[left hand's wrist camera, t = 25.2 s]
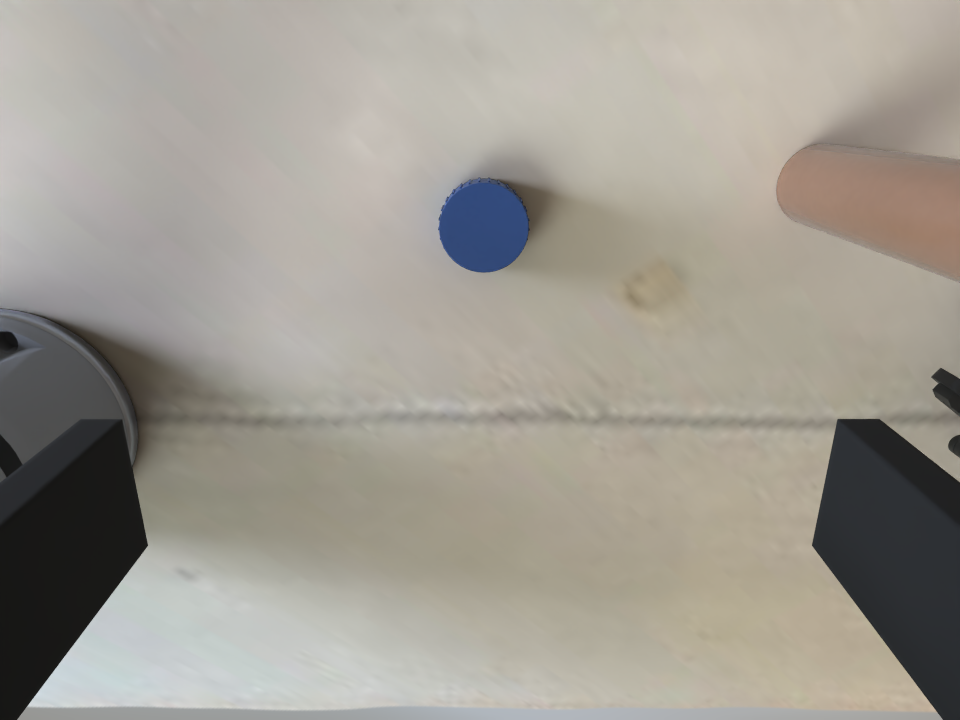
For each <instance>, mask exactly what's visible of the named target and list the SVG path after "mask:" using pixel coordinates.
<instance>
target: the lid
mask: <svg viewBox="0 0 960 720" xmlns="http://www.w3.org/2000/svg"><path fill="white" fill-rule="evenodd" d="M522 203H523V201H522V199H521V197H520V198H519V197H518V195H517V194H516V191H515V190H512V189H511V188H510V187H509V186H508V184H506V185H505V184H503V183H501V182H500V181H499V180H497V181H496V180H492V179H490V178H488V179H480V178H478V179H476V180H472V181H471V179H470V180H469V182H466V183H464V184H462V183H461V184H460V186H459V187H458V188H457V189H456V190H453V191H452V194H451V195H450V196H449V197H447V199H446V203H445V205H443V207H442V209H441V211H442V214H440V217H439V220H440V223H439V228H438V230H439V232H440V240H441V242H442V244H443V247H444V249H445V251H446V252H447V253H448V255H449V256H450V257H451V258H452V260H454V261H455V262H456V263H457V264H459V265H460V266H462V267H464V268H466V269H468V270H471V271H475V272H493V271H497V270H500V269H502V268H504V267H506V266H508V265H509V264H511V263H512V262H513V261H514V260H515V259H516V258H517V257H518V256H519V255H520V253H521V252H522V250H523V249H524V246H525V244H526V241H527V240H528V238H527V237H528V231H529V223H528V221H529V218H528V216H527V214H526V212H527V210H526V207H525V206H523V204H522Z"/></svg>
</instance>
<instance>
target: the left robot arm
mask: <svg viewBox="0 0 960 720" xmlns="http://www.w3.org/2000/svg"><path fill="white" fill-rule="evenodd" d="M137 445H138V428H137V420H136V416H135V411H134V408H133V405H132V402H131V399H130V397H129V395H128V393H127V390H126V389H125V387H124V385H123V383H122V381H121V380H120V378H119V377H118V375H117V374H116V372H115V371H114V370H113V368H112V367H111V366H110V365H109V363H108V362H107V361H106V360H105V359H104V358H103V357H102V356H101V355H100V354H99V353H98V352H97V351H96V350H95V349H94V348H93V347H92V346H90V345H89V344H88V343H87V342H85V341H84V340H83V339H81V338H80V337H79V336H77V335H76V334H74V333H73V332H71V331H69V330H68V329H66V328H64V327H62V326H60V325H58V324H56V323H54V322H52V321H50V320H47V319H45V318H42V317H39V316H36V315H33V314H29V313H25V312H22V311H16V310H10V309H0V720H17V719H18V718H19V716H20V715H21V714H22V712H23V711H24V710H25V708H26V707H27V706H28V704H29V703H30V702H31V700H32V699H33V698H34V696H35V695H36V694H37V692H38V691H39V690H40V688H41V687H42V686H43V684H44V683H45V682H46V680H47V679H48V678H49V676H50V675H51V674H52V672H53V671H54V670H55V668H56V667H57V666H58V664H59V663H60V662H61V660H62V659H63V658H64V656H65V655H66V654H67V653H68V651H69V650H70V649H71V647H72V646H73V645H74V643H75V642H76V641H77V639H78V638H79V637H80V635H81V634H82V633H83V631H84V630H85V629H86V627H87V626H88V625H89V623H90V622H91V621H92V619H93V618H94V617H95V615H96V614H97V613H98V611H99V610H100V609H101V607H102V606H103V605H104V603H105V602H106V601H107V599H108V598H109V597H110V595H111V594H112V593H113V591H114V590H115V589H116V587H117V586H118V585H119V583H120V582H121V581H122V579H123V578H124V577H125V575H126V574H127V573H128V571H129V570H130V569H131V567H132V566H133V565H134V563H135V562H136V561H137V559H138V558H139V557H140V555H141V554H142V553H143V551H144V550H145V549H146V547H147V546H148V543H147V538H146V533H145V529H144V524H143V519H142V514H141V509H140V504H139V499H138V494H137V489H136V484H135V479H134V474H133V469H132V466H133V463H134V460H135V456H136V452H137ZM812 546H813V547H814V549H815V550H816V551H817V553H818V554H819V555H820V557H821V558H822V559H823V561H824V562H825V563H826V565H827V566H828V567H829V569H830V570H831V571H832V573H833V574H834V575H835V577H836V578H837V579H838V581H839V582H840V583H841V585H842V586H843V587H844V589H845V590H846V591H847V593H848V594H849V595H850V597H851V598H852V599H853V601H854V602H855V603H856V605H857V606H858V607H859V609H860V610H861V611H862V613H863V614H864V615H865V617H866V618H867V619H868V621H869V622H870V623H871V625H872V626H873V627H874V629H875V630H876V631H877V633H878V634H879V635H880V637H881V638H882V639H883V641H884V642H885V643H886V645H887V646H888V647H889V649H890V650H891V651H892V653H893V654H894V655H895V656H896V658H897V659H898V660H899V662H900V663H901V664H902V666H903V667H904V668H905V670H906V671H907V672H908V674H909V675H910V676H911V678H912V679H913V680H914V682H915V683H916V684H917V686H918V687H919V688H920V690H921V691H922V692H923V694H924V695H925V696H926V698H927V699H928V700H929V702H930V703H931V704H932V706H933V707H934V708H935V710H936V711H937V712H938V714H939V715H940V716H941V718H942V719H943V720H960V482H958V481H957V480H956V479H955V478H953V477H952V476H951V475H950V474H948V473H947V472H946V471H945V470H943V469H942V468H941V467H939V466H938V465H937V464H936V463H934V462H933V461H932V460H931V459H929V458H928V457H927V456H925V455H924V454H923V453H922V452H920V451H919V450H918V449H917V448H915V447H914V446H913V445H912V444H910V443H909V442H908V441H906V440H905V439H904V438H903V437H901V436H900V435H899V434H898V433H896V432H895V431H894V430H893V429H891V428H890V427H889V426H887V425H886V424H885V423H884V422H882V421H881V420H880V419H838V420H837V425H836V430H835V435H834V440H833V445H832V450H831V455H830V460H829V464H828V469H827V474H826V479H825V484H824V489H823V494H822V499H821V504H820V509H819V514H818V519H817V524H816V529H815V533H814V538H813V543H812Z"/></svg>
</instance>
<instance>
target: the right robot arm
mask: <svg viewBox="0 0 960 720" xmlns="http://www.w3.org/2000/svg"><path fill="white" fill-rule="evenodd" d="M932 378H933V379H934V380H935V381H936V382H937V383H939V384H938V385H937V386H936V387H934V388H933V389H932V390H933V392H934V395H935V397H936V398H938V399H939V400H940V401H941V402H943V403H944V404H945V405H946V406H947V407H949V408H950V409H951V410H952V411H953V412H955V413H956V414H957V415H958V416H960V379H959V378H958V377H956V376H954V375H952V374H951V373H949V372H947V371H945V370H944V369H942V368H940V369H939V370H938V371H937V372H936V373H935V374H934V375H933V376H932ZM948 447H949V450H950V451H951V452H953V453H954V454H955V455H957V456H958V457H959V458H960V435H957V436H955V437H953V438H952V439H951V440H950V442H949V444H948Z"/></svg>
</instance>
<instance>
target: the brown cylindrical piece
mask: <svg viewBox="0 0 960 720" xmlns="http://www.w3.org/2000/svg"><path fill="white" fill-rule="evenodd" d="M777 199H778V203H779V205H780V207H781V209H782V211H783V212H784V213H785V214H786V216H787V217H789V218H790V219H791V220H793V221H795V222H798V223H800V224H803V225H806V226H809V227H811V228H814V229H817V230H819V231H822V232H825V233H827V234H830V235H833V236H835V237H838V238H841V239H843V240H846V241H849V242H852V243H854V244H857V245H860V246H862V247H865V248H868V249H870V250H873V251H876V252H878V253H881V254H884V255H886V256H889V257H892V258H894V259H897V260H900V261H903V262H905V263H908V264H911V265H913V266H916V267H919V268H921V269H924V270H927V271H929V272H932V273H935V274H937V275H940V276H943V277H946V278H948V279H951V280H954V281H956V282H959V283H960V159H956V158H947V157H939V156H930V155H921V154H912V153H904V152H895V151H886V150H877V149H869V148H860V147H851V146H842V145H833V144H815V145H811V146H808V147H806V148H804V149H802V150H800V151H799V152H797V153H796V154H795V155H793V156H792V157H791V158H790V159H789V160H788V162H787V163H786V164H785V166H784V167H783V169H782V171H781V173H780V175H779V178H778V182H777Z"/></svg>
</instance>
